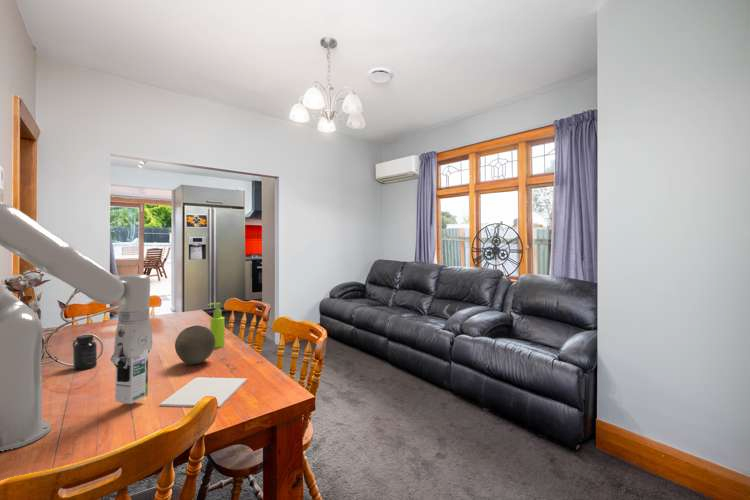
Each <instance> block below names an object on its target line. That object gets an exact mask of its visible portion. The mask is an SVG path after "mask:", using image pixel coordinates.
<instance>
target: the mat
mask: <svg viewBox="0 0 750 500" xmlns="http://www.w3.org/2000/svg"><path fill="white" fill-rule="evenodd" d="M247 381H248V378H245V377H244V378H242V377H241V378H240V377H239V378H238V377H236V378H235V377H207V376H206V377H205V376H204V377H200V376H199V377H194V378H193V379H191V381H189V382H188V383H186V384H185V385H184V386H182V387H181V388H180V389H178V390H177V391H175V392H173V394H171V395H169V397H167V398H166V399H164V400H163V401H161V402H160V403H159V407H178V408H179V407H180V408H181V407H184V408H185V407H186V408H187V407H188V408H194V407H193V406H194V405H195V404H196V403H197V402H198V401H200V400H201V399H202V398H203V397H205V396H213V397H216V399H217V402H218V408H219V409H220V408H222V407H223V406H224V404H225V403H226V402H227V401H228V400H229V399H231V397H232V396H234V394H235V393H236V392H237V391H238V390H239V389H241V387H242V386H243V385H244V384H245V383H247Z"/></svg>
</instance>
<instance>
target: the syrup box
mask: <svg viewBox="0 0 750 500" xmlns="http://www.w3.org/2000/svg"><path fill="white" fill-rule="evenodd" d="M123 356H125V355H123ZM125 360H126V359H123V360H122V361H123V362H124V363H125ZM128 367H130V378H129V381H128V382H118V381H117V368H116V367H115V396H114V399H115V402H117V403H122V404H123V403H124V404H130V405H132V404H133V403H135V402H137V401H139V400H141V399H143V398H146V397H148V394H149V392H148V391H149V389H148V387H149V353H148V349H146V350H144V352H143V353H142V354H140V355H138V356H136V357H134V358H130V362H129V365H128Z"/></svg>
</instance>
